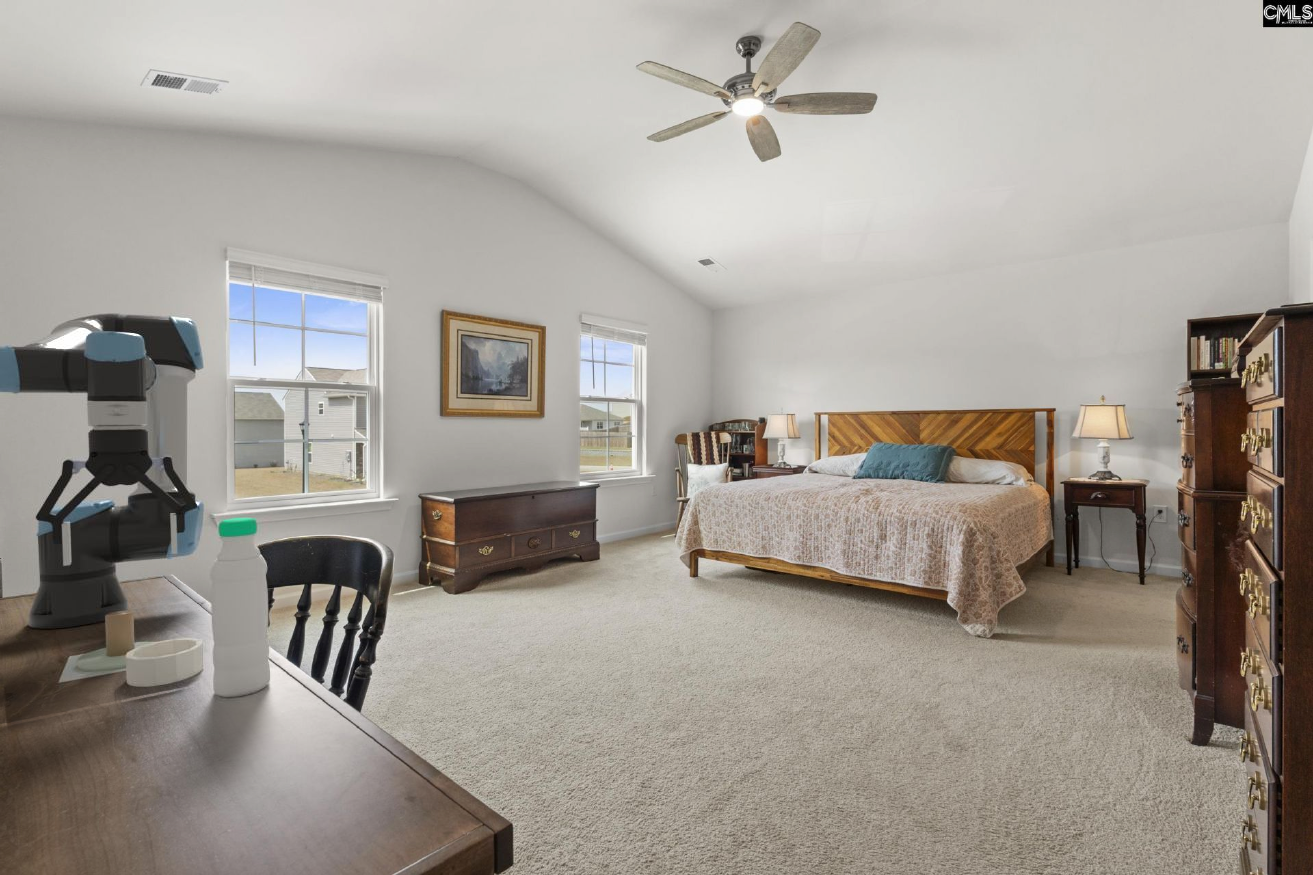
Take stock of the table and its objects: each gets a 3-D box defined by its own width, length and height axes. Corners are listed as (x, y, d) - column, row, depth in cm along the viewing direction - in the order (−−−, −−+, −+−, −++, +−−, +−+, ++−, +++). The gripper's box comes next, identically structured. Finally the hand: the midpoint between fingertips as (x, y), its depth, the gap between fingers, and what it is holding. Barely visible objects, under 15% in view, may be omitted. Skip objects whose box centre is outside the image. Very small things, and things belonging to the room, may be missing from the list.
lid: (80, 656, 110) (78, 612, 110) (162, 643, 117) (161, 600, 117) (72, 676, 101) (71, 628, 101) (162, 660, 108) (160, 614, 108)
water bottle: (203, 693, 96) (198, 521, 95) (252, 676, 102) (247, 514, 101) (231, 702, 92) (226, 524, 92) (280, 684, 99) (276, 517, 98)
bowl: (128, 674, 103) (127, 646, 103) (201, 660, 109) (201, 634, 109) (125, 694, 96) (124, 663, 95) (204, 678, 101) (203, 649, 101)
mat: (69, 658, 110) (69, 656, 110) (173, 641, 119) (173, 639, 119) (58, 684, 99) (58, 682, 99) (173, 663, 108) (173, 661, 108)
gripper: (7, 430, 97) (13, 573, 98) (212, 427, 112) (216, 551, 113) (16, 429, 103) (21, 564, 104) (209, 426, 118) (212, 545, 119)
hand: (123, 558), depth 108 cm, fingers open, 13 cm apart
